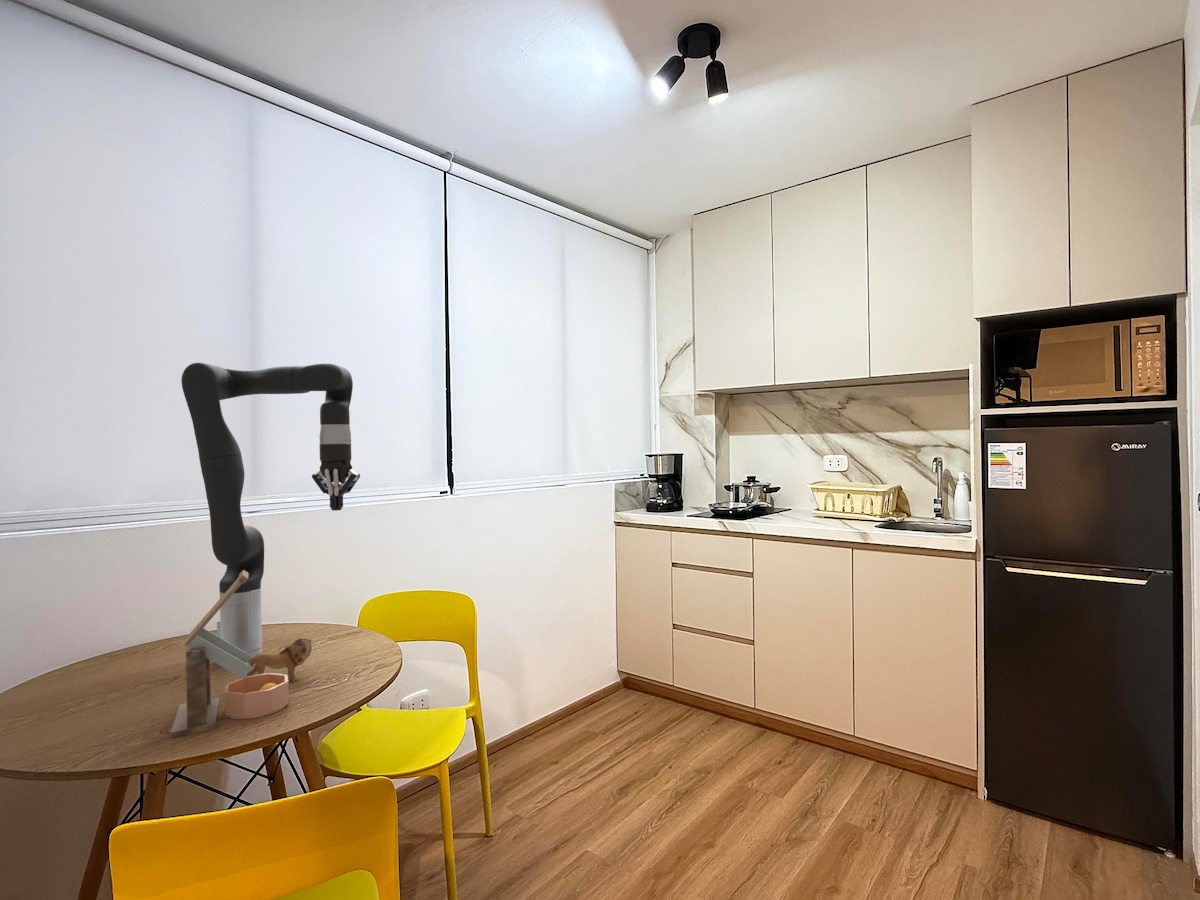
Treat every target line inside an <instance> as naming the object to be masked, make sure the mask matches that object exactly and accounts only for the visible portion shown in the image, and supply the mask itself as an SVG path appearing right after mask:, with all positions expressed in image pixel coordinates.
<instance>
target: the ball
mask: <svg viewBox="0 0 1200 900" xmlns="http://www.w3.org/2000/svg"><path fill="white" fill-rule="evenodd" d="M275 686H277V684H275V683H268V684H265V685H264V686H263V687H262V688H261V689H260V691H261V690H267V689H270V688H272V687H275Z"/></svg>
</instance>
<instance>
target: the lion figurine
mask: <svg viewBox="0 0 1200 900" xmlns="http://www.w3.org/2000/svg"><path fill="white" fill-rule="evenodd" d="M312 650H313V646H312V639H311V638H308V637H305V636H301V637H299V638H297V639H296V640H295V641H294V642H293V643H291V644H290V645H287V646H286V647H285V648H284V649H283V650H282V651H280V652H268V651H267V652H266V651H265V652H263V651H262V653H259V654H257V655H255V656H254V657H253V659H251V660H250V661H249V665H250V666H251V667H253V666H254V667H253V668H252V669H251V670H250V671H249V673H248V674H247V675H246V676H245V677H247V676H253V675H259V674H264V672H265V670H266V669H265V668H266V667H268V668H270V669H273V670H282V669H286V668H287V675H288V678H289V677H290V678H289V680H290V681H291V680H296V679H297V677H294V676H296V674H295V672H296V667H299V666H302V665H303V664H304V662H305V661H306V660H307V659H308V658H309V657H310V655H311V653H312ZM297 680H298V679H297ZM297 680H296V681H297Z"/></svg>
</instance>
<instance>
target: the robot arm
mask: <svg viewBox="0 0 1200 900" xmlns="http://www.w3.org/2000/svg"><path fill="white" fill-rule="evenodd" d="M353 384H354V383H353V376H352V374H351V372H350V371H349V370H348V369H347V368H345V367H343V366H339V365H338V364H335V363H315V364H309V365H303V366H302V365H296V366H293V365H292V366H291V365H290V366H289V365H288V366H273V367H267V368H263V369H257V370H238V369H229V368H225V367H221V366H218V365H213V364H210V363H205V362H193V363H190V364H189V365H187V366H186V367H185V368H184V370H183V372H182V374H181V389H182V392H183V395H184V398H185V401H186V404H187V408H188V412H189V415H190V417H191V420H192V421H191V422H192V426H193V432H194V436H195V441H196V446H197V451H198V460H199V465H200V469H201V476H202V479H203V483H204V490H205V494H206V500H207V505H208V510H209V518H210V519H209V520H210V521H209V522H210V534H211V535H210V536H211V547H212V551H213V554H214V556H215V558H216V560H217V561H219V562H220V563H221V564H223V565H225V566H226V571H225V572H224V574H223V576H222V577H221V579H220V581H219V584H218V585H219V586H218V587H219V590H218V591H219V599H220V598H221V597H222V596H223V595H224V594H225V593H226V591H227V590H228V589H229V588H230V587H231V586H232V585H233V583H234V582H235V581H236V580H237V579H238V578H239V574H240V573H241V572H242V571H243V570H245V571H246V572H248V573H249V574H248V579H247V581H246V582H245V583H244V584H243V583H242V584H241V585H240V586H239V587H238V589H237V590H236V591H235V592H234V593H233V594H232V595H231V597H230V598H229V599H228V600H227V601H226V602H225V604H224V605H223V606H222V607H221V608H220V609H219V620H217V622H216V635H217V636H218V637H220V638H222V639H224V640H225V641H227V642H229V643H230V644H232V645H234V646H236V647H237V648H239V649H241V650H242V651H244V652H246V653H248V654H249V655H251V656H253V657H254V656H255V655H257V654H259V653H263V634H262V633H263V632H262V631H263V629H262V627H263V625H262V623H263V622H262V588H261V587H262V585H261V584H262V578H263V576H264V571H265V541H264V537H263V535H262V533H261V532H260V530H259V529H258V528H256V527H254V526H252V525H244V520H243V517H242V511H241V508H242V507H241V504H242V503H241V500H242V495H243V489H244V484H245V466H244V462H243V461H244V460H243V457H242V452H241V449H240V445H239V443H238V442H237V439H236V438H235V436H234V434H233V433H232V431H231V430H230V428H229V427H228V424H227V423H226V420H225V418H224V415H223V411H222V406H221V401H224V400H227V399H234V398H238V397H243V396H250V395H252V396H253V395H290V394H291V395H293V394H295V395H296V394H298V395H299V394H307V393H309V392H325V399H324V402H323V403H321V405H320V408H319V435H318V436H319V461H320V463H321V464H320V466H319V471H318V472H316V473H314V474H312V475H311V478H312V479H313V481H314V482H315V484H316V485H317V486H318V488H319V489H320V491H321V492H322V493H323V494H327V495H328V496H329V508H330V509H331V511H332V512H333V511H336V512H337V511H341V510H342V508H344V495H345V494H348V493H351V491H352V489H353V488H354V487H355V485H356V483H357V482H358V480H359V479H360V477H361V474H360V473H358V472H356V471H354V470H353V466H352V464H351V461H352V431H351V425H350V424H351V422H350V421H351V420H350V405H351V401H352V395H353V389H354V388H353V387H354V385H353ZM253 657H252V659H253ZM252 659H251V660H252Z"/></svg>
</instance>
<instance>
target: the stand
mask: <svg viewBox="0 0 1200 900" xmlns="http://www.w3.org/2000/svg"><path fill="white" fill-rule="evenodd" d="M185 671H186V672H185V673H186V674H185V675H186V678H185V681H186V703H181V704H179V705H178V708H177V711H176V714H175V717H174V721H173V724H172V728H171V731H170V738H171V739H172V738H177V737H183V736H188V735H194V734H199V733H203V732H208V731H209V732H210V731H213V730H216V727H217V721H218V716H219V715H218V714H219V709H220V702H221V701H220V697H216V698H215V697H214V698H211V695H212V694H211V693H212V691H211V688H212V687H211V660H209V659H207V658H206V647H201V648H194V649H190V648H188V649H186V651H185Z"/></svg>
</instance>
